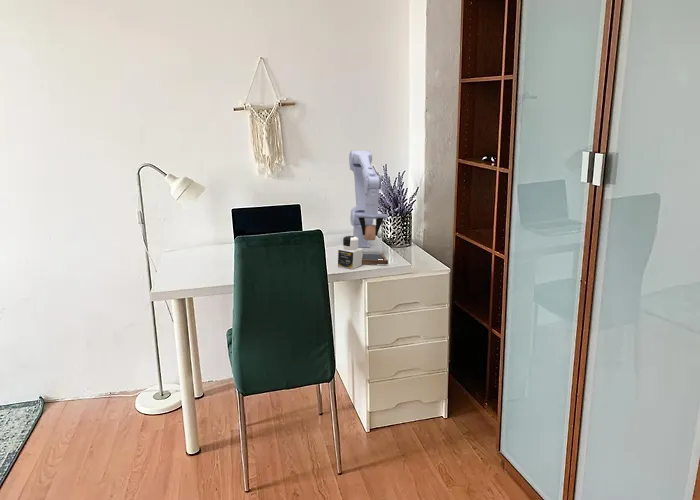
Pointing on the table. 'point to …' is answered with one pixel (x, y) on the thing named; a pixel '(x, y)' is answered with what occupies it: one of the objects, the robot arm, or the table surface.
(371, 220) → the robot arm
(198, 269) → the table surface
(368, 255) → the plate
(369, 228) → the terracotta jar
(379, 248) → the table surface
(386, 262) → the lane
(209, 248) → the table surface
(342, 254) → the medicine bottle
